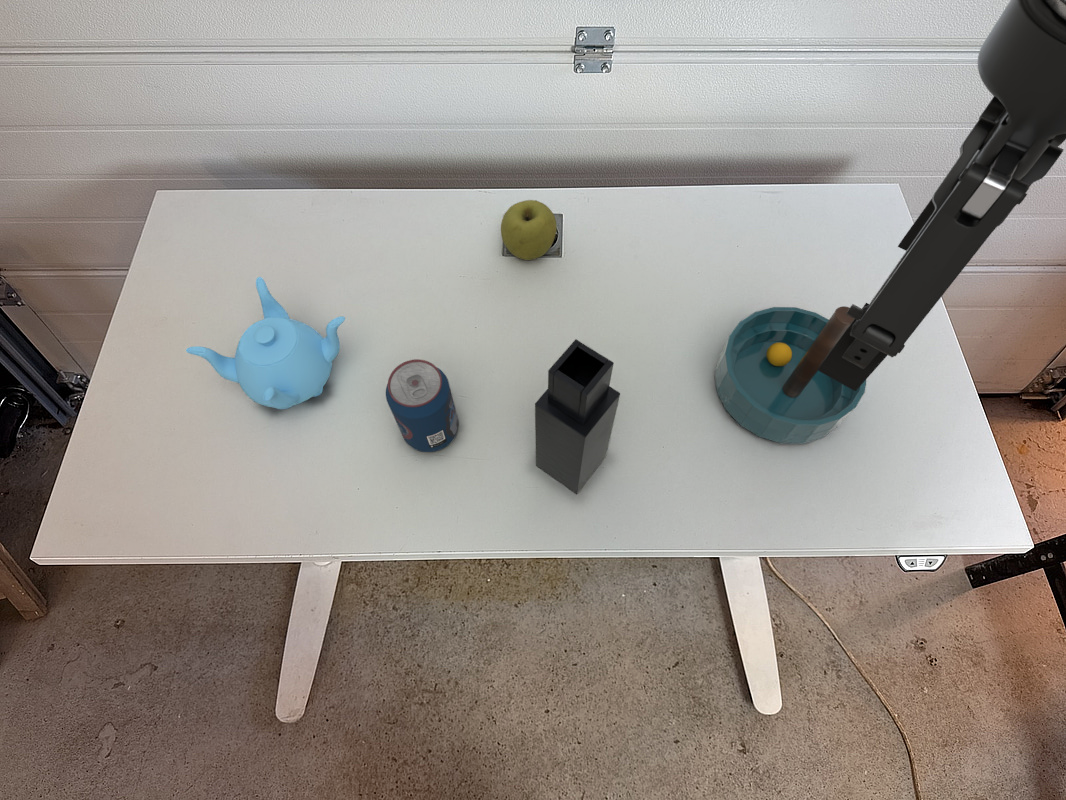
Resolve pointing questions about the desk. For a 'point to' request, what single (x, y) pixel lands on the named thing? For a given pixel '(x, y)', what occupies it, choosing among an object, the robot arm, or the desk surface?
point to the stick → (817, 352)
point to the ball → (779, 354)
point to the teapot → (278, 356)
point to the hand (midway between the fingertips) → (879, 311)
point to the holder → (575, 416)
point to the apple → (528, 229)
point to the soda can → (422, 405)
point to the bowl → (780, 379)
